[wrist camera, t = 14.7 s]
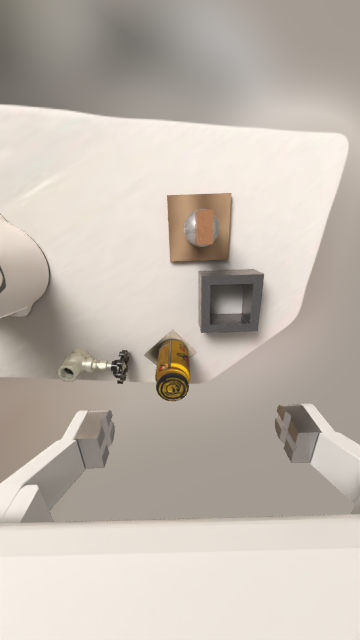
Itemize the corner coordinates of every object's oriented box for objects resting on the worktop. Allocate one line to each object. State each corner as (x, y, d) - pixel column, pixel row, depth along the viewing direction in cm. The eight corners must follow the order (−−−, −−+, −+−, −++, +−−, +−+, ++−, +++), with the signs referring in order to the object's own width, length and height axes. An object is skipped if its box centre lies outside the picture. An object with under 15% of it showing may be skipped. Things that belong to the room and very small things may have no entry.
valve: (73, 367, 46) (129, 370, 47) (58, 387, 40) (121, 391, 40) (70, 340, 44) (128, 344, 44) (52, 358, 38) (120, 361, 38)
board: (170, 260, 38) (170, 261, 37) (167, 196, 34) (167, 195, 33) (226, 258, 38) (227, 259, 37) (229, 194, 34) (231, 193, 33)
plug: (184, 245, 36) (185, 249, 28) (183, 212, 34) (184, 205, 26) (213, 244, 36) (224, 248, 27) (214, 211, 34) (226, 204, 26)
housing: (198, 321, 42) (201, 332, 38) (198, 271, 38) (201, 276, 34) (248, 320, 42) (257, 330, 38) (253, 269, 38) (264, 274, 34)
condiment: (196, 351, 45) (202, 390, 34) (168, 374, 47) (165, 418, 36) (172, 329, 43) (170, 362, 32) (144, 354, 45) (132, 393, 34)
